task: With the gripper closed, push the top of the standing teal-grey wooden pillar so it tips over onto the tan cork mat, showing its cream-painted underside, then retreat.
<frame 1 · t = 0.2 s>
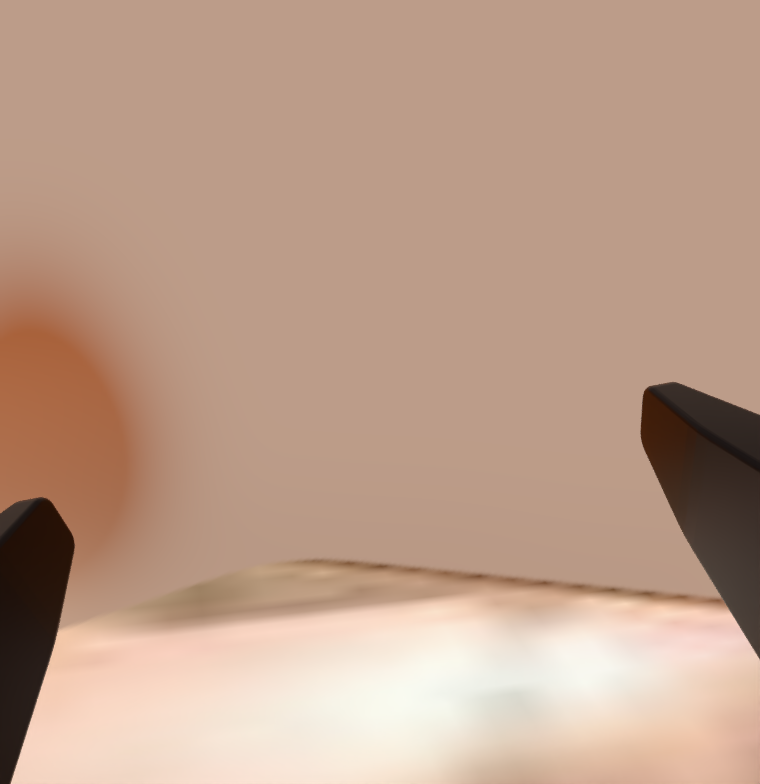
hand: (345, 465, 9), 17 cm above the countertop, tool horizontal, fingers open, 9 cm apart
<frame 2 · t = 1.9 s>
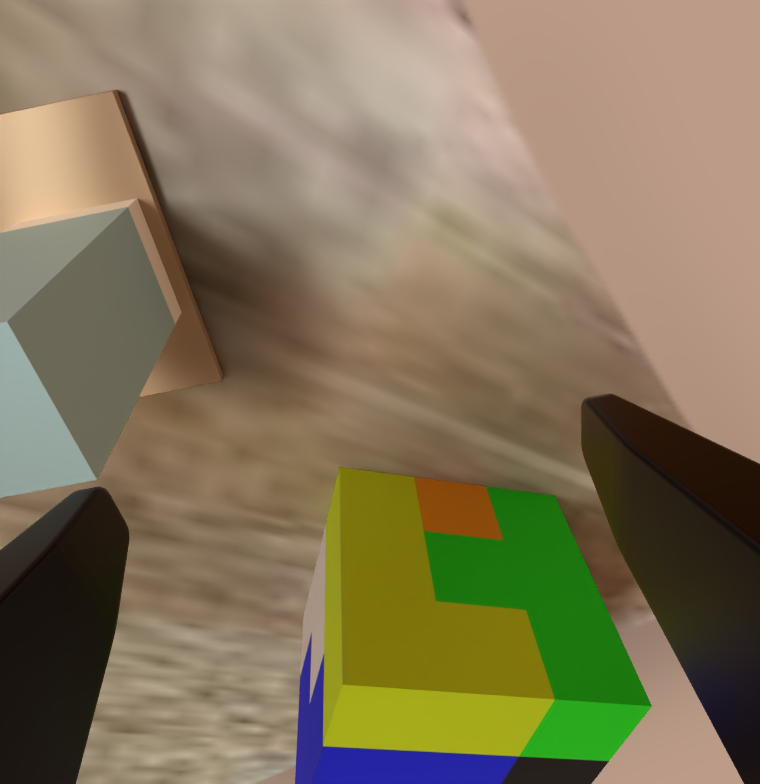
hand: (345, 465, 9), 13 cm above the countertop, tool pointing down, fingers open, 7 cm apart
puzzle toy: (421, 555, 30), on the countertop
pillar: (102, 269, 20), resting on mat
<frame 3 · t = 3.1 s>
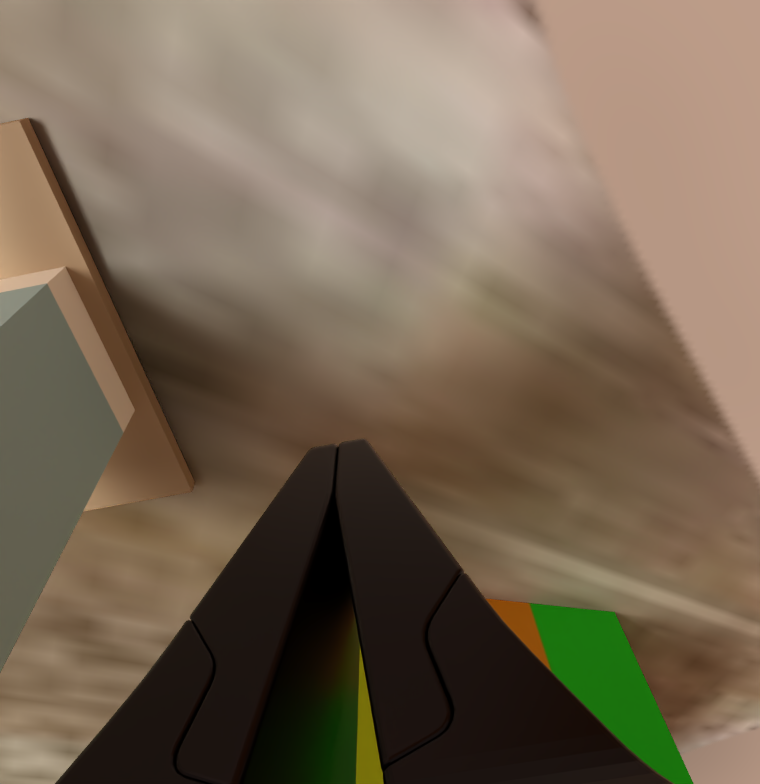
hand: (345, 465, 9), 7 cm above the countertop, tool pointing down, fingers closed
puzzle toy: (445, 675, 24), on the countertop
pillar: (24, 358, 15), resting on mat
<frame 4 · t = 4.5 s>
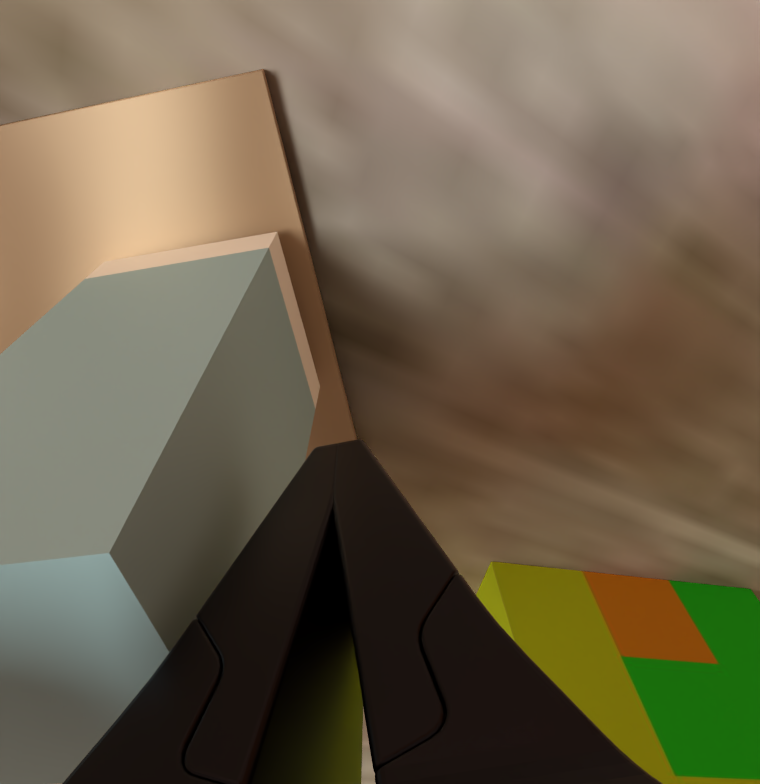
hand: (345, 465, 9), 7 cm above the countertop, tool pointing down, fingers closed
puzzle toy: (569, 656, 24), on the countertop
pillar: (218, 327, 14), point 1 cm above the countertop, tilted 6°, touching gripper, mat
mat: (44, 352, 15), on the countertop
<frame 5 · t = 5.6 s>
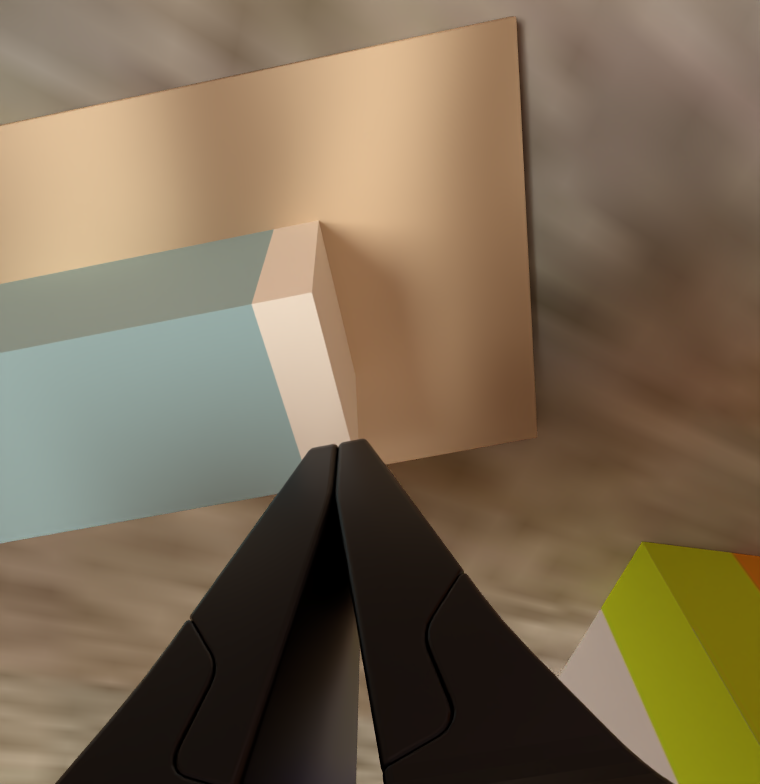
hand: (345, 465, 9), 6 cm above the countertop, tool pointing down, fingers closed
puzzle toy: (699, 642, 23), on the countertop
pillar: (338, 343, 12), point 2 cm above the countertop, tilted 90°, touching mat
mat: (237, 316, 15), on the countertop
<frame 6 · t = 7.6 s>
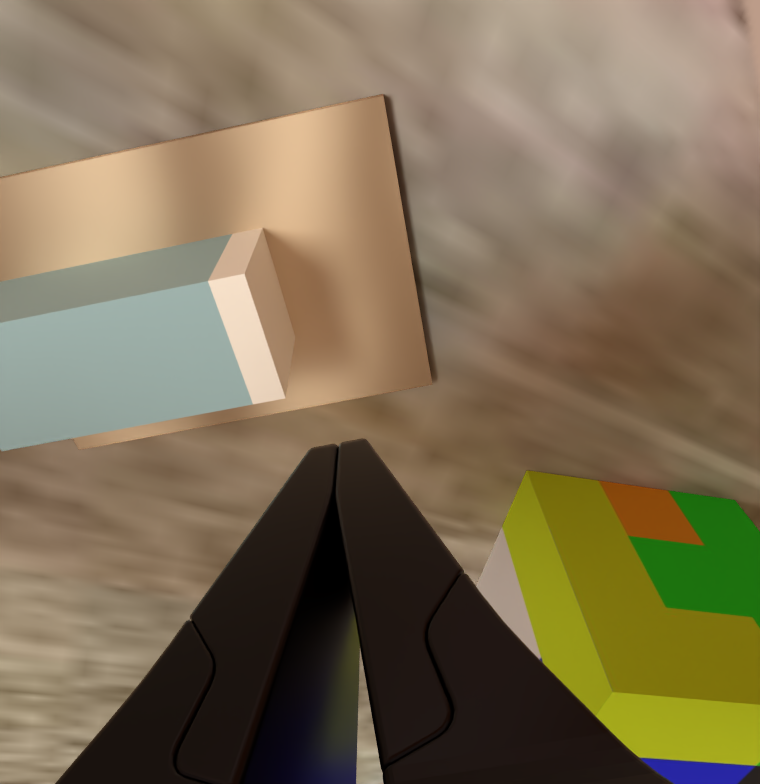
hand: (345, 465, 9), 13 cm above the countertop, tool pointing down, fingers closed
puzzle toy: (587, 559, 29), on the countertop
pillar: (273, 310, 19), point 2 cm above the countertop, tilted 90°, touching mat
mat: (210, 294, 21), on the countertop
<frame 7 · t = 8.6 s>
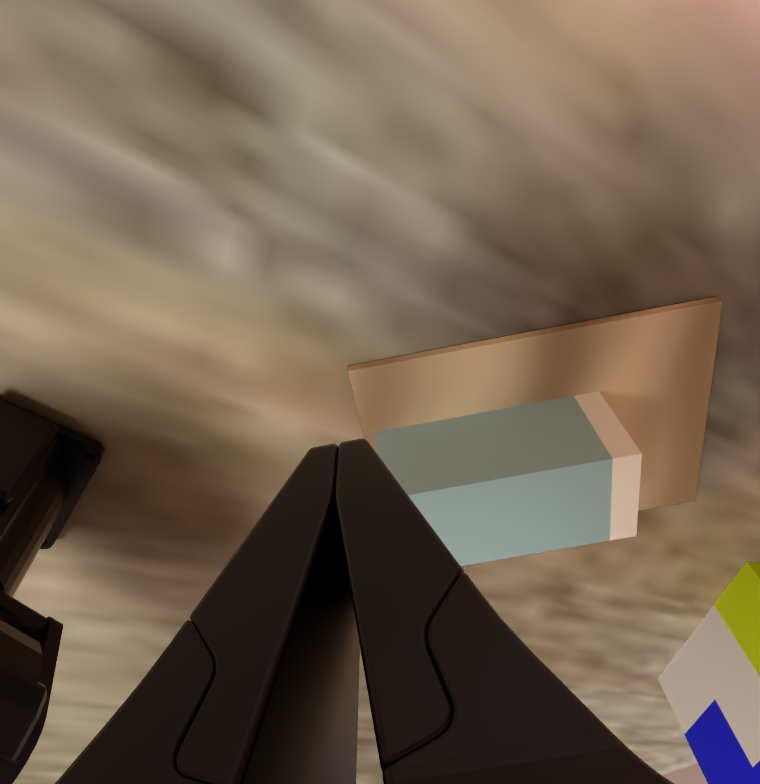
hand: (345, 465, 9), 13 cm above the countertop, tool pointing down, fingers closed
pillar: (617, 461, 23), point 2 cm above the countertop, tilted 90°, touching mat
mat: (535, 436, 25), on the countertop
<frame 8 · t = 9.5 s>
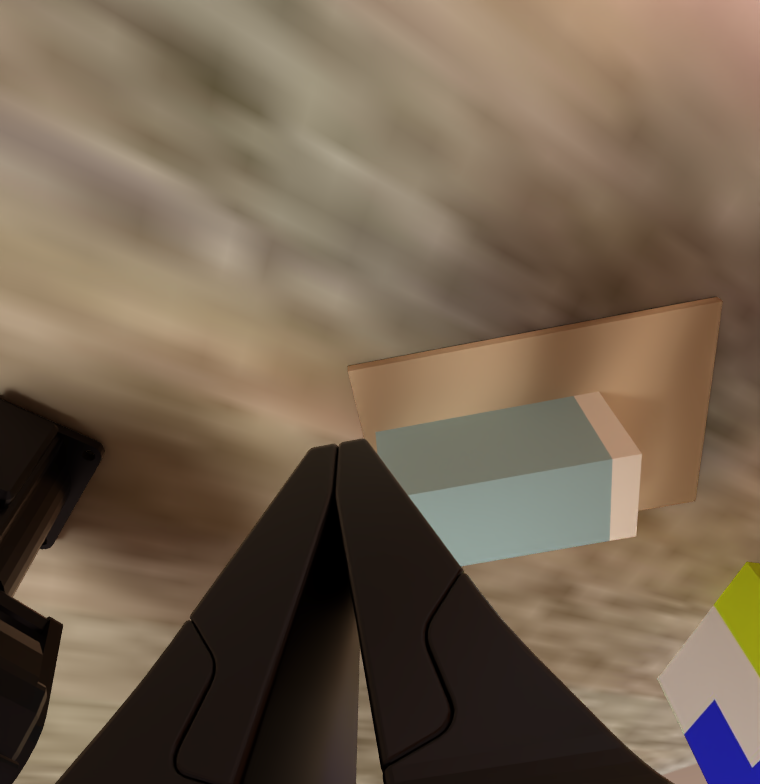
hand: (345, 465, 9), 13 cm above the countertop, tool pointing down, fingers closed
pillar: (616, 461, 23), point 2 cm above the countertop, tilted 90°, touching mat
mat: (535, 436, 25), on the countertop
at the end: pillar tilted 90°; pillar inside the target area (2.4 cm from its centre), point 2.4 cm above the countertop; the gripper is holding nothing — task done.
